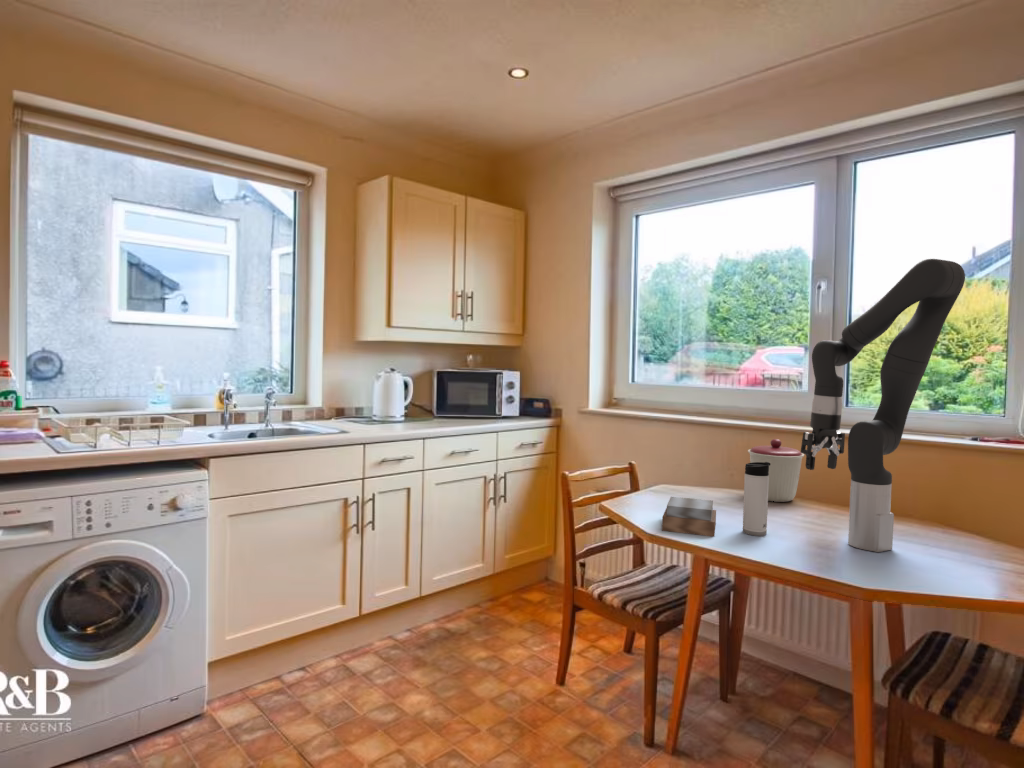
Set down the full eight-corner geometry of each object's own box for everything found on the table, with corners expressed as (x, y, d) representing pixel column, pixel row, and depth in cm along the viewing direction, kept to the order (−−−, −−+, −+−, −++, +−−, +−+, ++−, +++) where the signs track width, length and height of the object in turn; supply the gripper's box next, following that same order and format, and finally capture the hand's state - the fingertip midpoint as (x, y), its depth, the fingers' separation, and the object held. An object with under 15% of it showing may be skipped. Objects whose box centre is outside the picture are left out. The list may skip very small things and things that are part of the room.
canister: (752, 490, 226) (754, 434, 225) (806, 497, 215) (808, 438, 214) (740, 499, 211) (742, 439, 210) (797, 508, 201) (799, 444, 199)
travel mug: (771, 536, 168) (774, 464, 167) (747, 535, 168) (750, 464, 167) (762, 530, 174) (765, 460, 173) (739, 529, 174) (741, 460, 173)
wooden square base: (715, 523, 180) (716, 500, 180) (714, 536, 167) (715, 511, 166) (667, 518, 185) (667, 495, 184) (662, 530, 171) (662, 506, 171)
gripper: (819, 413, 164) (814, 472, 165) (856, 413, 170) (850, 471, 171) (796, 410, 171) (791, 466, 172) (832, 410, 177) (827, 465, 178)
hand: (820, 468), depth 172 cm, fingers open, 8 cm apart
